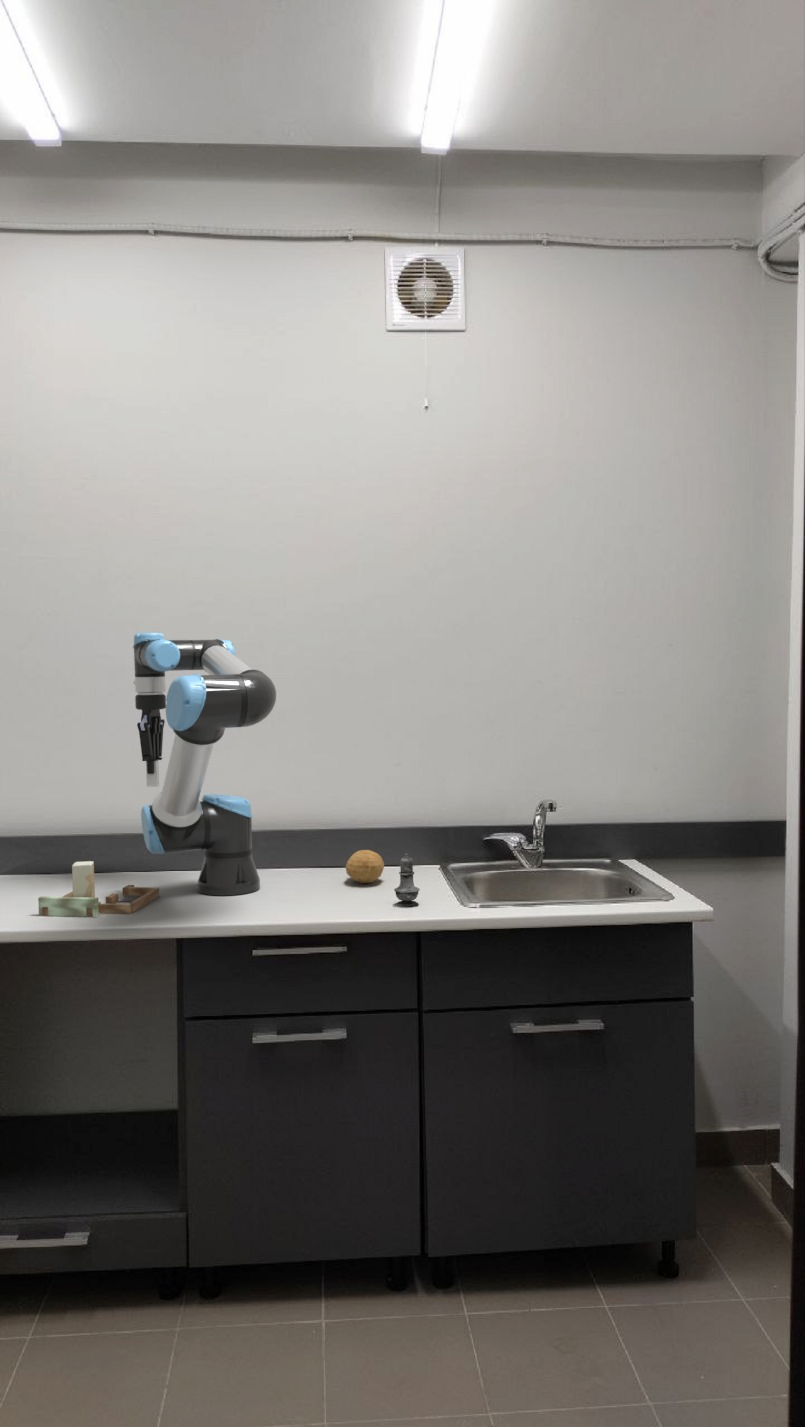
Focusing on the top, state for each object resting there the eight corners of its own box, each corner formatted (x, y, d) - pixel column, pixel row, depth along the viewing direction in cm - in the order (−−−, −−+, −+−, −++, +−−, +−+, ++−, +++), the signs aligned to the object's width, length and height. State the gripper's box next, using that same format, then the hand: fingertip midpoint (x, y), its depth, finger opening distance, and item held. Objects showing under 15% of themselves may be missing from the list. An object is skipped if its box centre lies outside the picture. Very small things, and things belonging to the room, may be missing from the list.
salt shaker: (401, 908, 250) (400, 856, 249) (389, 903, 255) (389, 852, 254) (424, 905, 253) (423, 853, 252) (412, 900, 258) (411, 849, 257)
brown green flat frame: (163, 893, 269) (163, 877, 268) (125, 917, 245) (124, 899, 245) (84, 891, 272) (84, 875, 271) (38, 915, 248) (38, 898, 248)
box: (92, 913, 249) (91, 865, 249) (72, 914, 249) (71, 865, 248) (95, 908, 254) (94, 860, 254) (76, 909, 254) (74, 861, 253)
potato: (382, 876, 286) (381, 845, 286) (386, 887, 272) (385, 855, 272) (344, 877, 285) (344, 846, 285) (346, 889, 271) (346, 856, 271)
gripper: (145, 692, 288) (148, 782, 289) (126, 695, 275) (128, 789, 276) (173, 692, 287) (175, 783, 288) (155, 694, 274) (157, 789, 275)
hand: (152, 786), depth 282 cm, fingers closed
